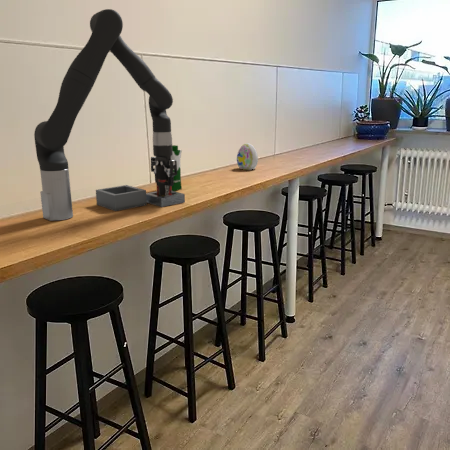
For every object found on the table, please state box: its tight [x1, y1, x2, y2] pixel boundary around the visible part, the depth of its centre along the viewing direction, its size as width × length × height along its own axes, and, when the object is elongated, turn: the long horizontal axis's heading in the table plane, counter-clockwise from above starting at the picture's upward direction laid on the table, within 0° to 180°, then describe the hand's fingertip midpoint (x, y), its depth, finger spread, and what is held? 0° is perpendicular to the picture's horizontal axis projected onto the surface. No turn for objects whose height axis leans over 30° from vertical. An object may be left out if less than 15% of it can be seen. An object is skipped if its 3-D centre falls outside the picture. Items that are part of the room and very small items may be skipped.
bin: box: [95, 184, 148, 212], centre depth 177 cm, size 14×14×6 cm
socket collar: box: [146, 190, 186, 208], centre depth 182 cm, size 12×12×4 cm
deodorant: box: [155, 165, 172, 197], centre depth 180 cm, size 6×6×15 cm
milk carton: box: [171, 144, 183, 192], centre depth 203 cm, size 9×9×20 cm
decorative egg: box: [236, 142, 259, 171], centre depth 261 cm, size 12×12×15 cm
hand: (164, 184), depth 181 cm, fingers open, 8 cm apart
